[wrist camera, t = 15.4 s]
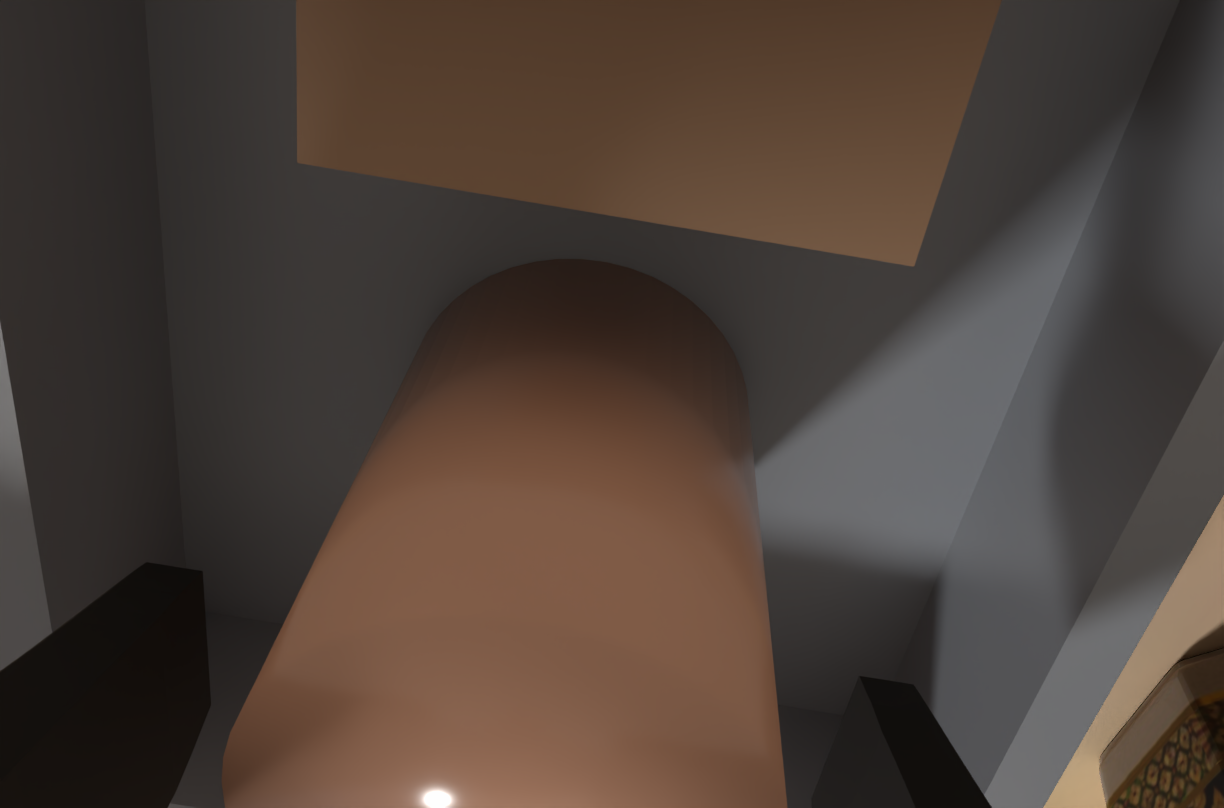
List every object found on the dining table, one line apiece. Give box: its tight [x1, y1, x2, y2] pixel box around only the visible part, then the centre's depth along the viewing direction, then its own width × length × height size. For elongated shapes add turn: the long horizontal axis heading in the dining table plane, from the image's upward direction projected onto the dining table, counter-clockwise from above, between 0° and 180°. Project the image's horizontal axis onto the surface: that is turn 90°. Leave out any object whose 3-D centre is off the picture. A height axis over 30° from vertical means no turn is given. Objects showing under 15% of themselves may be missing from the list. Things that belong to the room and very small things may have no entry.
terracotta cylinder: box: [222, 259, 787, 808], centre depth 12 cm, size 5×5×7 cm
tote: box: [0, 0, 1224, 808], centre depth 12 cm, size 18×14×4 cm
